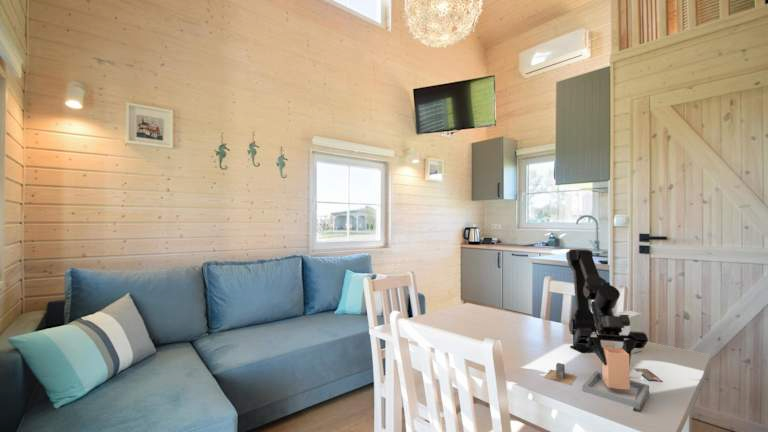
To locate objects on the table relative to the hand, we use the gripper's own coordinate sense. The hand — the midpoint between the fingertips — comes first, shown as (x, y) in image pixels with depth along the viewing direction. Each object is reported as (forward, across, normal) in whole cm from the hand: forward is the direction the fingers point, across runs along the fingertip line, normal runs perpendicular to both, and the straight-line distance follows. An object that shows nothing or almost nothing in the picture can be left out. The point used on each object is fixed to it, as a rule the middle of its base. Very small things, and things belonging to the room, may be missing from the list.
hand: (617, 365), depth 104 cm
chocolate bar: (-6, +15, +20) cm, 25 cm away
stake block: (+1, -14, +11) cm, 18 cm away
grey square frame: (+5, 0, +7) cm, 9 cm away
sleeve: (+3, 0, +5) cm, 6 cm away
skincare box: (-22, +17, +35) cm, 44 cm away
